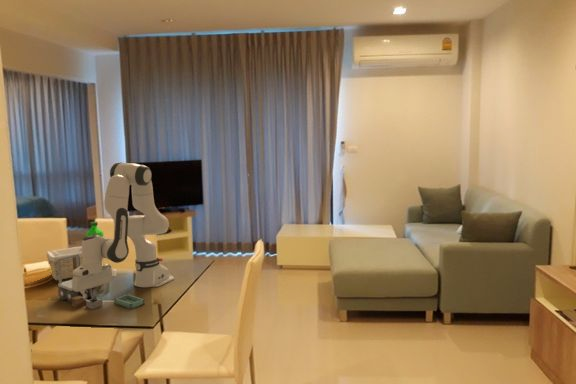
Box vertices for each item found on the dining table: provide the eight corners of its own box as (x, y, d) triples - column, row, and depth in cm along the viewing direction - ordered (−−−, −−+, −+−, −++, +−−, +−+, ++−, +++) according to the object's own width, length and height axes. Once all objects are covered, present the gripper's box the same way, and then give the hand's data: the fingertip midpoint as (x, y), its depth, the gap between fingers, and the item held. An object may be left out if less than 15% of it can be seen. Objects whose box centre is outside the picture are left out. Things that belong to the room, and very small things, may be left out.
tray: (128, 298, 246) (127, 294, 246) (144, 304, 239) (144, 299, 239) (114, 303, 240) (114, 298, 240) (131, 309, 233) (130, 304, 232)
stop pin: (95, 304, 239) (94, 283, 237) (99, 305, 237) (98, 284, 235) (89, 306, 236) (87, 285, 234) (93, 308, 234) (91, 286, 232)
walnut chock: (84, 305, 237) (83, 297, 236) (76, 308, 234) (76, 299, 233) (79, 304, 239) (79, 295, 239) (72, 306, 236) (71, 297, 235)
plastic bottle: (104, 261, 313) (102, 223, 310) (86, 262, 310) (84, 224, 306) (105, 256, 323) (103, 220, 319) (88, 258, 319) (85, 221, 316)
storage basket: (53, 282, 272) (51, 256, 270) (47, 275, 285) (45, 250, 283) (96, 274, 287) (95, 250, 285) (89, 267, 299) (87, 244, 297)
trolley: (79, 292, 256) (77, 253, 253) (110, 303, 241) (107, 261, 237) (58, 298, 246) (55, 258, 243) (88, 310, 231) (85, 267, 228)
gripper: (107, 262, 243) (108, 288, 245) (69, 271, 227) (71, 300, 228) (114, 264, 240) (116, 290, 242) (77, 274, 223) (78, 302, 225)
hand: (93, 295), depth 235 cm, fingers open, 8 cm apart
